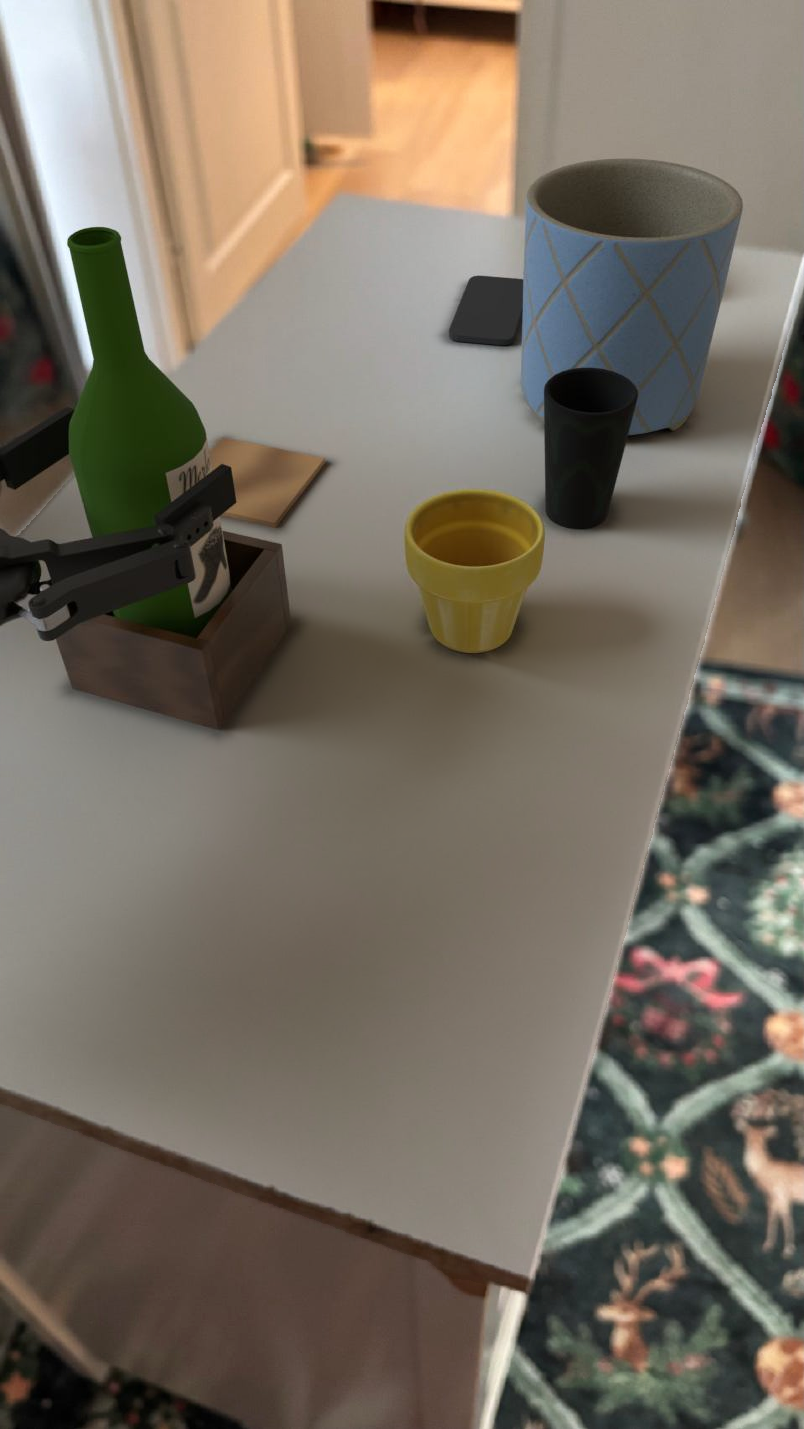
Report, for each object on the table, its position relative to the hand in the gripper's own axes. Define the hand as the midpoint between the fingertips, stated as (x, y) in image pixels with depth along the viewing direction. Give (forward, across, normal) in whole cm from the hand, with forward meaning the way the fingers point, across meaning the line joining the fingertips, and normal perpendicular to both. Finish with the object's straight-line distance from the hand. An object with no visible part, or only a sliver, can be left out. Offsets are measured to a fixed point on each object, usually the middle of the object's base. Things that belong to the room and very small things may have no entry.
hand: (150, 453), depth 72 cm
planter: (+52, +12, -18) cm, 56 cm away
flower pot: (+14, +17, -18) cm, 29 cm away
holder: (-1, 0, -18) cm, 18 cm away
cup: (+32, +18, -18) cm, 41 cm away
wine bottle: (-1, 0, -18) cm, 18 cm away
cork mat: (+21, -10, -18) cm, 29 cm away
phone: (+62, -8, -18) cm, 65 cm away
